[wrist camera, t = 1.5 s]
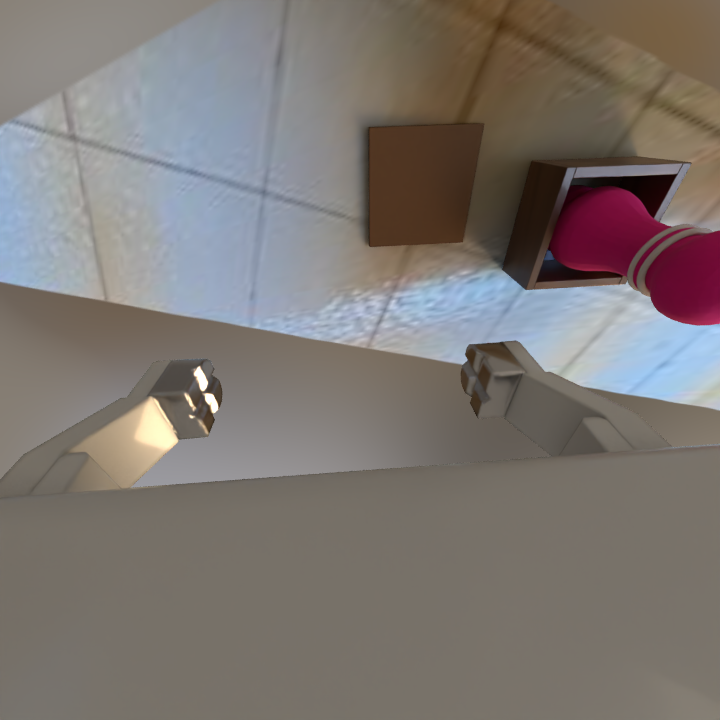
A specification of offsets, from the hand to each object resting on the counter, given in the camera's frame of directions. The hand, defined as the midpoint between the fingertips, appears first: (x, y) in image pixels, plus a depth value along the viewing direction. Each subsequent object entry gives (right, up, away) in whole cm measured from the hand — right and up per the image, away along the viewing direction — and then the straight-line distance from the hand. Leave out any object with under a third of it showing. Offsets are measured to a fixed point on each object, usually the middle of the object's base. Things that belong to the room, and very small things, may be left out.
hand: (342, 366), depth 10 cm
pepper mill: (+22, +15, +22) cm, 35 cm away
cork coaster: (+6, +17, +20) cm, 27 cm away
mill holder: (+22, +15, +22) cm, 35 cm away
